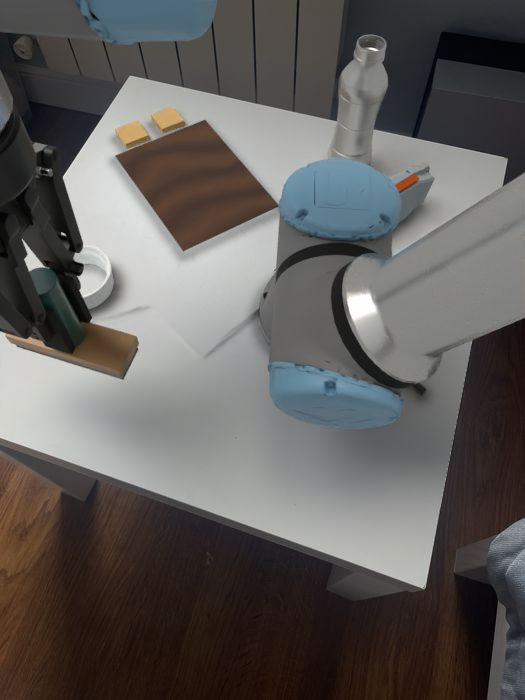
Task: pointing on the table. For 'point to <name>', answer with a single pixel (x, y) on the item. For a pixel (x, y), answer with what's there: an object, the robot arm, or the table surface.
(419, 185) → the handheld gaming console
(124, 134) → the crumb
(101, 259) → the ramekin
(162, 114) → the crumb
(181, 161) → the brown wooden board
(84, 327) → the brush
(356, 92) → the plastic bottle
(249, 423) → the table surface
